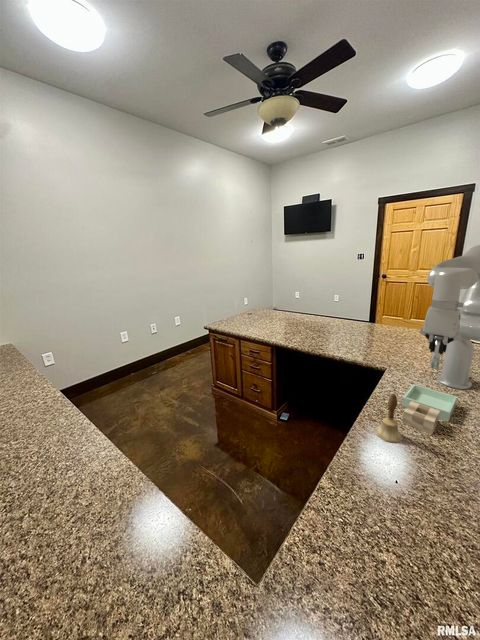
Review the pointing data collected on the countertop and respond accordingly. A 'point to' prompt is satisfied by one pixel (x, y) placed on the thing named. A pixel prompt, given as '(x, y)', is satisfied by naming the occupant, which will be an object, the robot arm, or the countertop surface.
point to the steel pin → (436, 351)
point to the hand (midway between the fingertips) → (436, 351)
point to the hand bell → (389, 424)
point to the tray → (431, 400)
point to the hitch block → (421, 417)
